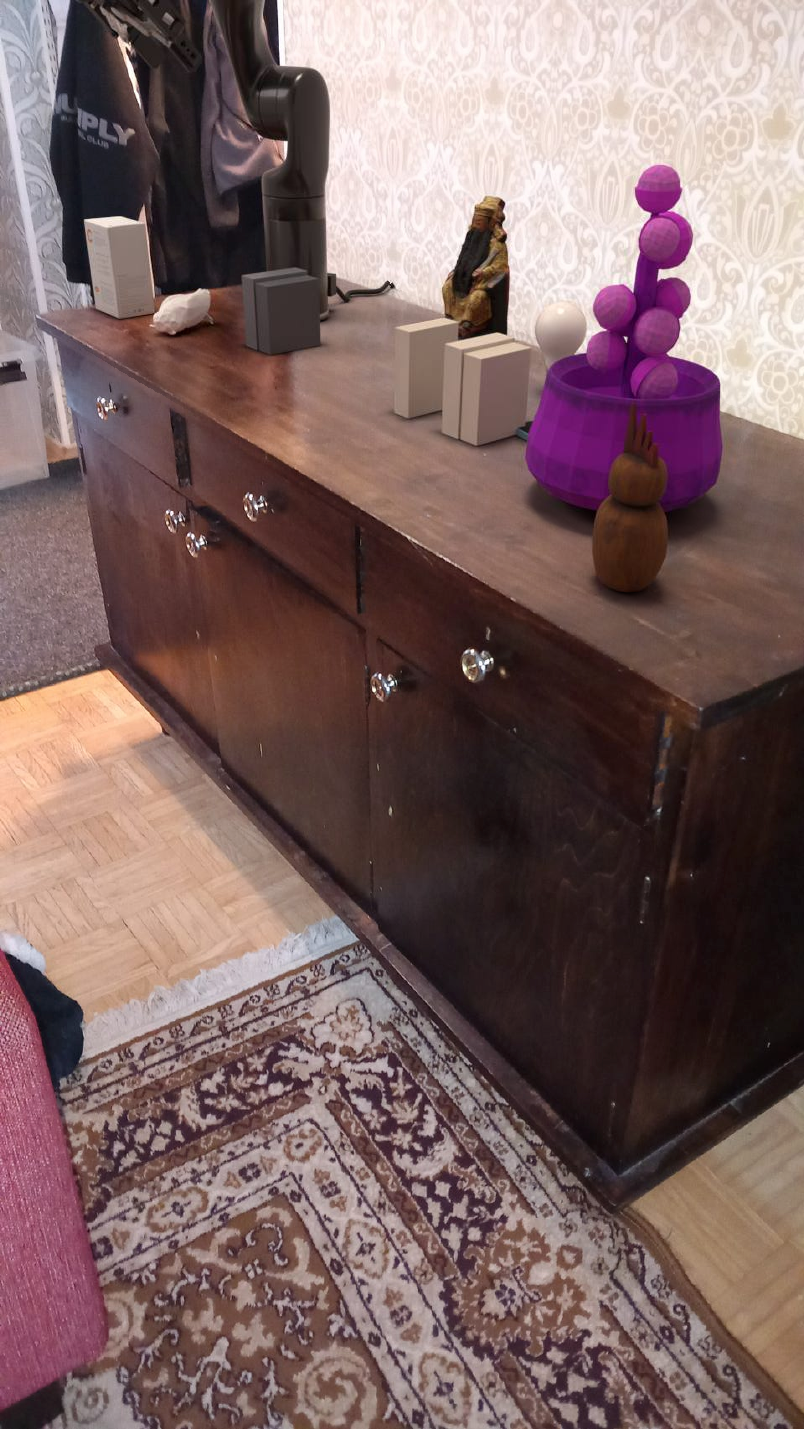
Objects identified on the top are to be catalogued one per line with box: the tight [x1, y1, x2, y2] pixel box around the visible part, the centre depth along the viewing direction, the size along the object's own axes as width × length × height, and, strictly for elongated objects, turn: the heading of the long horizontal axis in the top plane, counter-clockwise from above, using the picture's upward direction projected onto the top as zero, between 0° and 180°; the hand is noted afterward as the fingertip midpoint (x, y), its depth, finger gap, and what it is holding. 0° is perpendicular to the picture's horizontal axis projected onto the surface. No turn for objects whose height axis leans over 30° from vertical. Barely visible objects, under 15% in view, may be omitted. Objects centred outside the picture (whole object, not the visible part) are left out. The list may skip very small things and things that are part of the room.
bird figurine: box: [149, 288, 214, 336], centre depth 157 cm, size 5×7×10 cm
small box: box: [83, 215, 156, 320], centre depth 163 cm, size 8×6×13 cm
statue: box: [441, 195, 511, 341], centre depth 143 cm, size 12×8×20 cm, turn 29°
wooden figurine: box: [591, 402, 669, 593], centre depth 87 cm, size 7×6×15 cm
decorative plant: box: [524, 164, 724, 513], centre depth 98 cm, size 19×18×30 cm
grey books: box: [241, 267, 322, 356], centre depth 149 cm, size 6×9×10 cm, turn 130°
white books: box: [441, 333, 532, 447], centre depth 120 cm, size 6×8×10 cm
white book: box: [394, 317, 459, 419], centre depth 126 cm, size 3×8×10 cm, turn 130°
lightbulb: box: [534, 300, 588, 377], centre depth 133 cm, size 6×6×11 cm
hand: (178, 64), depth 122 cm, fingers open, 8 cm apart
